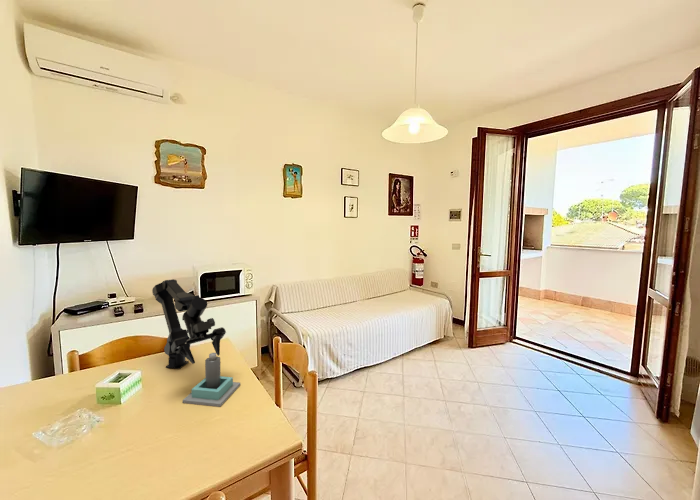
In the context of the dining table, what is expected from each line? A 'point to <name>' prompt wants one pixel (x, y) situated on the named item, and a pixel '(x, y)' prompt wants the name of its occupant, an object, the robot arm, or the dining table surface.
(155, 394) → the dining table surface
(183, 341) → the robot arm
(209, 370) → the plug
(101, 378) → the dining table surface
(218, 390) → the socket
